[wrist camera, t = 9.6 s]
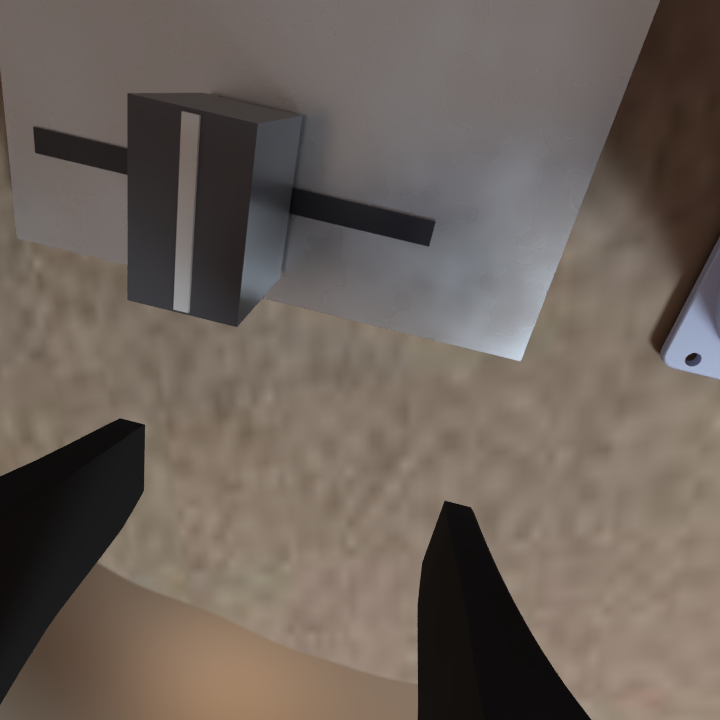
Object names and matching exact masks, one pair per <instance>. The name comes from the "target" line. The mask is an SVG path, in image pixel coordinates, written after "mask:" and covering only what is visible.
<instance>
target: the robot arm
mask: <svg viewBox="0 0 720 720" xmlns="http://www.w3.org/2000/svg"><path fill="white" fill-rule="evenodd" d="M691 353H697V355H696V357H695V358H694V359H693V360H691V361H685V358H686V357H687V356H688V355H689V354H691ZM660 356H661V359H662V360H663V361H664V363H665V364H666V365H667V366H669V367H671V368H674V369H678V370H682V371H687V372H691V373H695V374H699V375H703V376H707V377H711V378H716V379H720V237H719V239H718V241H717V243H716V245H715V246H714V248H713V250H712V252H711V254H710V256H709V258H708V260H707V262H706V264H705V266H704V268H703V270H702V272H701V273H700V275H699V277H698V279H697V281H696V283H695V285H694V287H693V289H692V291H691V293H690V295H689V297H688V298H687V300H686V302H685V304H684V306H683V308H682V310H681V312H680V314H679V316H678V318H677V320H676V322H675V324H674V325H673V327H672V329H671V331H670V333H669V335H668V337H667V339H666V341H665V343H664V345H663V347H662V349H661V352H660ZM144 450H145V425H144V424H140V423H136V422H132V421H128V420H124V419H118V420H116V421H114V422H112V423H110V424H108V425H106V426H104V427H102V428H100V429H98V430H96V431H94V432H92V433H90V434H88V435H86V436H84V437H82V438H80V439H78V440H76V441H74V442H72V443H70V444H68V445H66V446H64V447H62V448H60V449H58V450H56V451H54V452H52V453H50V454H48V455H46V456H44V457H42V458H40V459H38V460H36V461H34V462H31V463H29V464H27V465H25V466H23V467H20V468H18V469H16V470H14V471H11V472H9V473H7V474H5V475H2V476H0V704H1V702H2V701H3V699H4V697H5V696H6V694H7V692H8V691H9V689H10V687H11V686H12V684H13V682H14V681H15V679H16V677H17V676H18V674H19V672H20V671H21V669H22V667H23V666H24V664H25V663H26V661H27V659H28V658H29V656H30V655H31V653H32V652H33V650H34V648H35V647H36V645H37V643H38V642H39V640H40V639H41V637H42V635H43V634H44V632H45V631H46V629H47V628H48V626H49V625H50V624H51V622H52V621H53V619H54V618H55V616H56V615H57V613H58V612H59V611H60V609H61V608H62V607H63V606H64V604H65V603H66V601H67V600H68V599H69V598H70V596H71V595H72V594H73V592H74V591H75V590H76V589H77V587H78V586H79V585H80V583H81V582H82V581H83V579H84V578H85V577H86V575H87V574H88V573H89V572H90V570H91V569H92V567H93V566H94V565H95V564H96V562H97V561H98V560H99V559H100V557H101V556H102V555H103V553H104V552H105V551H106V549H107V548H108V547H109V545H110V544H111V543H112V541H113V540H114V539H115V537H116V536H117V535H118V533H119V532H120V531H121V529H122V528H123V526H124V524H125V523H126V521H127V519H128V518H129V516H130V514H131V513H132V511H133V509H134V507H135V506H136V504H137V502H138V500H139V499H140V497H141V495H142V493H143V491H144ZM418 720H591V719H590V718H589V716H588V715H587V714H586V712H585V711H584V710H583V708H582V707H581V706H580V704H579V703H578V702H577V700H576V699H575V698H574V697H573V695H572V694H571V693H570V691H569V690H568V689H567V687H566V686H565V684H564V683H563V681H562V680H561V679H560V677H559V676H558V674H557V673H556V671H555V670H554V668H553V667H552V665H551V664H550V662H549V661H548V659H547V657H546V656H545V654H544V653H543V651H542V650H541V648H540V646H539V645H538V643H537V641H536V640H535V638H534V636H533V635H532V633H531V631H530V630H529V628H528V626H527V624H526V623H525V621H524V619H523V617H522V615H521V614H520V612H519V610H518V608H517V606H516V604H515V603H514V601H513V599H512V597H511V595H510V593H509V591H508V589H507V587H506V585H505V583H504V581H503V579H502V577H501V575H500V573H499V570H498V568H497V566H496V564H495V562H494V560H493V558H492V555H491V553H490V551H489V548H488V546H487V544H486V542H485V539H484V537H483V534H482V532H481V529H480V527H479V524H478V522H477V519H476V517H475V514H474V512H473V510H472V509H471V507H467V506H463V505H459V504H455V503H452V502H448V501H444V504H443V507H442V510H441V513H440V515H439V518H438V521H437V524H436V526H435V529H434V532H433V535H432V537H431V540H430V543H429V546H428V548H427V551H426V554H425V557H424V560H423V562H422V570H421V579H420V588H419V598H418Z"/></svg>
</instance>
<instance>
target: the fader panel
mask: <svg viewBox="0 0 720 720" xmlns="http://www.w3.org/2000/svg"><path fill="white" fill-rule="evenodd" d="M659 2H660V0H0V72H1V82H2V92H3V102H4V112H5V123H6V133H7V143H8V153H9V163H10V173H11V184H12V194H13V204H14V214H15V224H16V234H17V239H21V240H25V241H29V242H34V243H38V244H42V245H46V246H50V247H54V248H58V249H62V250H66V251H70V252H75V253H79V254H83V255H87V256H91V257H95V258H99V259H103V260H107V261H111V262H116V263H120V264H124V265H128V221H127V93H207V94H211V95H215V96H220V97H224V98H228V99H233V100H237V101H241V102H246V103H250V104H254V105H258V106H263V107H267V108H271V109H276V110H280V111H284V112H289V113H293V114H297V115H302V123H301V130H300V138H299V145H298V152H297V159H296V167H295V174H294V181H293V188H292V196H291V203H290V210H289V217H288V225H287V232H286V239H285V246H284V254H283V261H282V268H281V275H280V279H279V280H278V281H277V282H276V283H275V284H274V285H273V286H272V288H271V289H270V290H269V291H268V292H267V293H266V294H265V296H264V297H263V299H267V300H271V301H276V302H280V303H284V304H288V305H292V306H296V307H300V308H304V309H308V310H313V311H317V312H321V313H325V314H329V315H333V316H337V317H341V318H345V319H349V320H354V321H358V322H362V323H366V324H370V325H374V326H378V327H382V328H386V329H390V330H395V331H399V332H403V333H407V334H411V335H415V336H419V337H423V338H427V339H432V340H436V341H440V342H444V343H448V344H452V345H456V346H460V347H464V348H468V349H473V350H477V351H481V352H485V353H489V354H493V355H497V356H501V357H505V358H509V359H514V360H518V361H521V359H522V356H523V354H524V351H525V349H526V346H527V343H528V341H529V338H530V336H531V333H532V330H533V328H534V325H535V323H536V320H537V318H538V315H539V312H540V310H541V307H542V305H543V302H544V299H545V297H546V294H547V292H548V289H549V287H550V284H551V281H552V279H553V276H554V274H555V271H556V268H557V266H558V263H559V261H560V258H561V256H562V253H563V250H564V248H565V245H566V243H567V240H568V237H569V235H570V232H571V230H572V227H573V224H574V222H575V219H576V217H577V214H578V212H579V209H580V206H581V204H582V201H583V199H584V196H585V193H586V191H587V188H588V186H589V183H590V181H591V178H592V175H593V173H594V170H595V168H596V165H597V162H598V160H599V157H600V155H601V152H602V149H603V147H604V144H605V142H606V139H607V137H608V134H609V131H610V129H611V126H612V124H613V121H614V118H615V116H616V113H617V111H618V108H619V106H620V103H621V100H622V98H623V95H624V93H625V90H626V87H627V85H628V82H629V80H630V77H631V74H632V72H633V69H634V67H635V64H636V62H637V59H638V56H639V54H640V51H641V49H642V46H643V43H644V41H645V38H646V36H647V33H648V31H649V28H650V25H651V23H652V20H653V18H654V15H655V12H656V10H657V7H658V5H659Z"/></svg>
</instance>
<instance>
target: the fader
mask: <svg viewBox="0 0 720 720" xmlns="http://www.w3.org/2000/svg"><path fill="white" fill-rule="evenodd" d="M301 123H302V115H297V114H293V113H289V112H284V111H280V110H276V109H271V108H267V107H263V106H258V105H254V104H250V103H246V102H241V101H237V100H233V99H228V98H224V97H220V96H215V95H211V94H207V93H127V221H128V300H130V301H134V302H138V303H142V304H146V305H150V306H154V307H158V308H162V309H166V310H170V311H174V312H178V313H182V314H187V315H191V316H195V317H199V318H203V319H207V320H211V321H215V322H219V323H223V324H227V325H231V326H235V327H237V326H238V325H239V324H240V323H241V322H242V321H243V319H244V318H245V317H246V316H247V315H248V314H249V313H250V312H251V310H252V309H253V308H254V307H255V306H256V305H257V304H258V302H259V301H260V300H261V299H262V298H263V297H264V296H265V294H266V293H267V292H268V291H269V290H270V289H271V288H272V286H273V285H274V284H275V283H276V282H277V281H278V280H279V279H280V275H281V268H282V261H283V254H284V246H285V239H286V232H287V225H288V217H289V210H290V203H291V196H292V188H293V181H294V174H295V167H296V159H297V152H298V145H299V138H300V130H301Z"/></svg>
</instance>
